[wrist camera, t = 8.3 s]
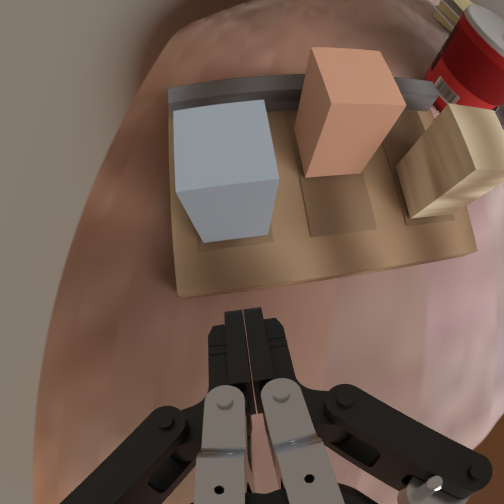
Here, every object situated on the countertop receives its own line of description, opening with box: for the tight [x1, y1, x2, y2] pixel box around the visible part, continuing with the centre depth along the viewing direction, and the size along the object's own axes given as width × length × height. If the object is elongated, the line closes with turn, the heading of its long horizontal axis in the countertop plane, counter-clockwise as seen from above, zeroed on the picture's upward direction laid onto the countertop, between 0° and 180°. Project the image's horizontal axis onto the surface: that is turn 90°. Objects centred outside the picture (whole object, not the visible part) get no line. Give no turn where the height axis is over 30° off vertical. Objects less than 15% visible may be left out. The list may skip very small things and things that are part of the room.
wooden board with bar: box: [168, 74, 477, 298], centre depth 21 cm, size 22×16×4 cm
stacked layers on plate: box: [433, 0, 474, 32], centre depth 27 cm, size 10×9×6 cm
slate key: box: [173, 100, 279, 243], centre depth 16 cm, size 4×4×8 cm
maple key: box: [396, 103, 504, 219], centre depth 17 cm, size 4×4×8 cm
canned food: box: [425, 4, 504, 112], centre depth 20 cm, size 8×8×11 cm
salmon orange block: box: [294, 47, 406, 178], centre depth 17 cm, size 4×4×8 cm
